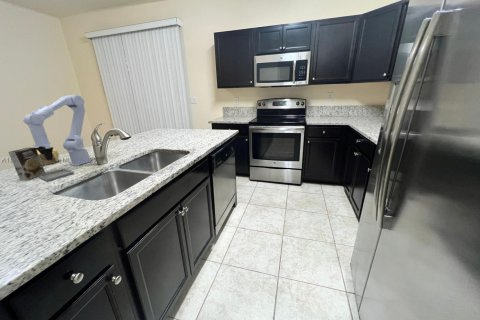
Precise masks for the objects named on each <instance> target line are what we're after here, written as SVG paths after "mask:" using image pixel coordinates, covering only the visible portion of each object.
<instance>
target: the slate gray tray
mask: <svg viewBox="0 0 480 320" xmlns="http://www.w3.org/2000/svg"><path fill="white" fill-rule="evenodd" d="M72 175H75V173H74V171H73V170H70V169H67V168H62V169H58V170H54V171H51V172H46V174H43V175H40V176H38V177H39V179H41V180H43V181H44V182H47V183H49V182H52V181H55V180H59V179H62V178H65V177H68V176H72Z"/></svg>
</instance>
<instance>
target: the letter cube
mask: <svg viewBox="0 0 480 320" xmlns="http://www.w3.org/2000/svg"><path fill="white" fill-rule="evenodd" d="M52 155H53V159H52V160H47V159H46V157H45V155H44V154H39V156H40V159H41V161H42V163H44V164H47V165H49V164H48V163H52V162H55V163H56V160H55V157H54V154H53V153H52ZM52 164H53V163H52Z"/></svg>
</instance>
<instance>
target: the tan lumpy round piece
mask: <svg viewBox="0 0 480 320" xmlns="http://www.w3.org/2000/svg"><path fill="white" fill-rule="evenodd" d="M37 152H38V155H39V154H41V153H40V152H39V151H38V150H37ZM52 153H53V154H54V157H55V160H56V162H58V160H59V158H60V155H59V152H58V149H57V148H54V147H53V152H52ZM39 157H40V156H39ZM40 160H41V159H40ZM56 162H52V163H48V164H44V163H42V161H41V163H42V165H43V166H44V165H51V164H55V163H56Z"/></svg>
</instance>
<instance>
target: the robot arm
mask: <svg viewBox="0 0 480 320" xmlns="http://www.w3.org/2000/svg"><path fill="white" fill-rule="evenodd" d="M84 105H85V100H84V99H83V97H82V96H81V95H79V94H73V95H72V94H71V95H67V94H66V95H63V96H61V97H60V98H58V99H57V100H55V101H54V102H53V103H52V102H51V104H50V105H48V106H47V105H42V106H41V105H39V107H38V109H36V110H32V111H31V113H30V114H29V113H28V114H26V115H25V114H24V115H25V116H24V117H23V122H24V124H26V125H27V126H28V128H29V130H30V134H31V136H32V139H33V142H34V144H33V145H32V146H33V148H36V150H37V151H39V152H40V153H41V154H44V155H45V157H46V159H47V160H52V159H53V155H52V152H53V148H54V147H53V146H51V142H50V140H49V138H48V135H47V132H46V129H45V127H44V123H45V121H46V120H47V119H49V118H50V117H52V116H53V115H54V114H55V111H57V110H58V109H60V108H62V107H63V106H67V107H68V108H70V110H72V112H73V116H72V121H71V125H70V131H69V135H68V136H67V137H66V138H65V141H63V144H62V145H63V146H62V147H63V148H64V149H65V150H66V151H67V152H68V155H69V156H68V157H69V158H70V161H71V163H69V165H71V166H73V167H77V166H80V165H84V164H87V163H90V162H92V160H91V158H90V157H91V156H90V154H89V151H88V150H87V149H86V148H84V139H83V138H82V137H81V135H82V130H83V124H84V119H85V114H86V113H85V112H86V109H85V106H84Z"/></svg>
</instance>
